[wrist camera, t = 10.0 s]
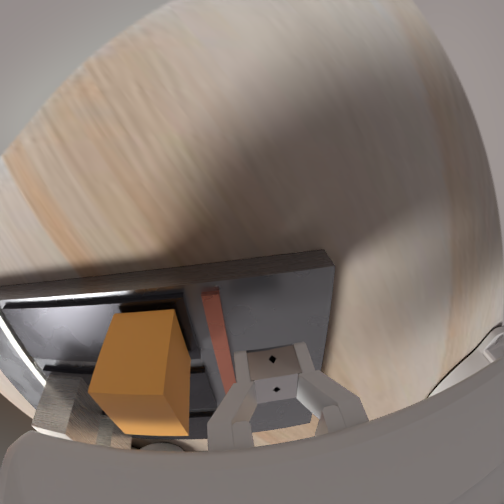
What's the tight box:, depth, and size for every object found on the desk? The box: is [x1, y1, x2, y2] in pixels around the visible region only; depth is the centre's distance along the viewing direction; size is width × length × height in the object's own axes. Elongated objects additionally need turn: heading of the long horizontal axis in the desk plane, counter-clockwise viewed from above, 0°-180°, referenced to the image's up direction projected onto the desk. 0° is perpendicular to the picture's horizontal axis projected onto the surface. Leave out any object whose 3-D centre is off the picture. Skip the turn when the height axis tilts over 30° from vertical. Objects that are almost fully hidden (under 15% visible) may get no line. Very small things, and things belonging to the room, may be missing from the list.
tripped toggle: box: [88, 309, 191, 436], centre depth 11 cm, size 3×4×4 cm
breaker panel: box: [0, 250, 335, 449], centre depth 14 cm, size 26×16×6 cm, turn 94°
